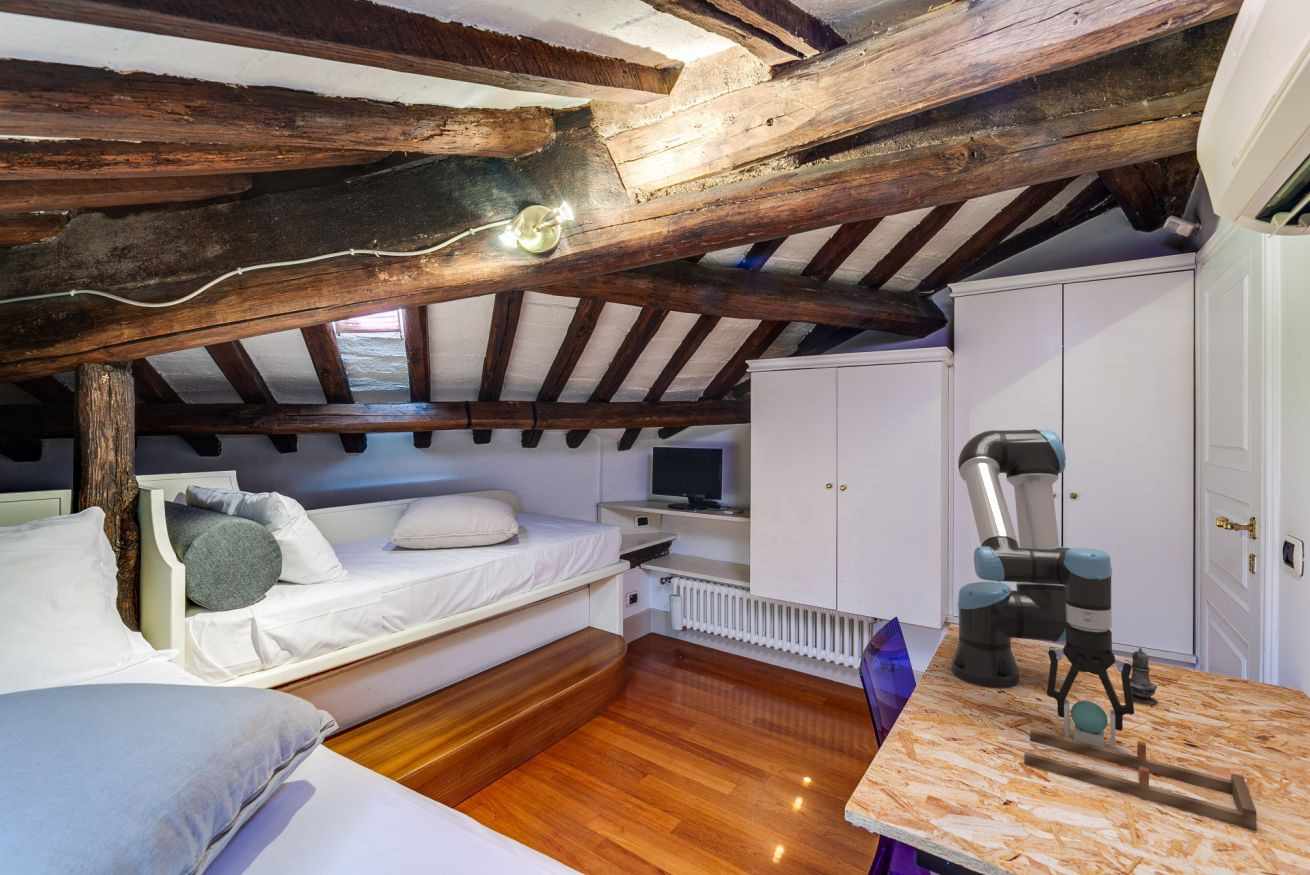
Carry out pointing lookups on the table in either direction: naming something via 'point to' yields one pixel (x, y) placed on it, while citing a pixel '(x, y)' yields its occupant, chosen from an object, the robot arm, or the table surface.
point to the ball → (1089, 716)
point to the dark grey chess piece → (1141, 679)
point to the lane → (1142, 789)
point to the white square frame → (1089, 737)
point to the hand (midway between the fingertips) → (1089, 738)
